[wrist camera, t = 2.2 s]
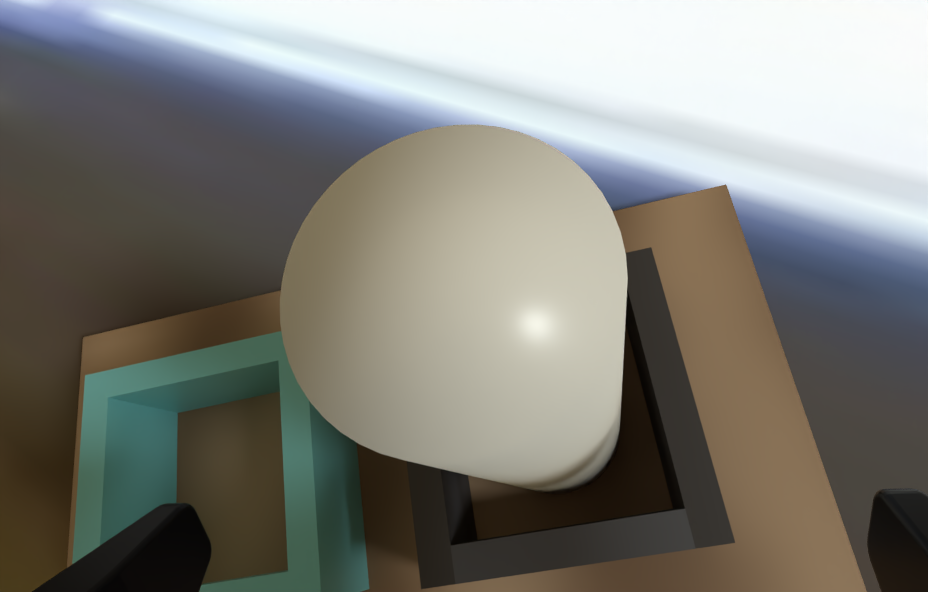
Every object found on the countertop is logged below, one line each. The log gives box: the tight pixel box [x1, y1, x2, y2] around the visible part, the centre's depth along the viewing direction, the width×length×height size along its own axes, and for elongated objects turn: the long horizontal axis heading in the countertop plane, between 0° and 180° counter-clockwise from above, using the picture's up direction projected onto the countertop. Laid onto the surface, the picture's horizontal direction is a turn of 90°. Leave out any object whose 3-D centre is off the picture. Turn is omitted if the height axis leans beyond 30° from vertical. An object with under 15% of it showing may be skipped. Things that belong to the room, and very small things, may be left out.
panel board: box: [67, 185, 867, 592], centre depth 17 cm, size 22×12×4 cm, turn 99°
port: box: [72, 331, 369, 592], centre depth 17 cm, size 7×7×3 cm
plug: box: [280, 125, 628, 494], centre depth 12 cm, size 4×4×12 cm
